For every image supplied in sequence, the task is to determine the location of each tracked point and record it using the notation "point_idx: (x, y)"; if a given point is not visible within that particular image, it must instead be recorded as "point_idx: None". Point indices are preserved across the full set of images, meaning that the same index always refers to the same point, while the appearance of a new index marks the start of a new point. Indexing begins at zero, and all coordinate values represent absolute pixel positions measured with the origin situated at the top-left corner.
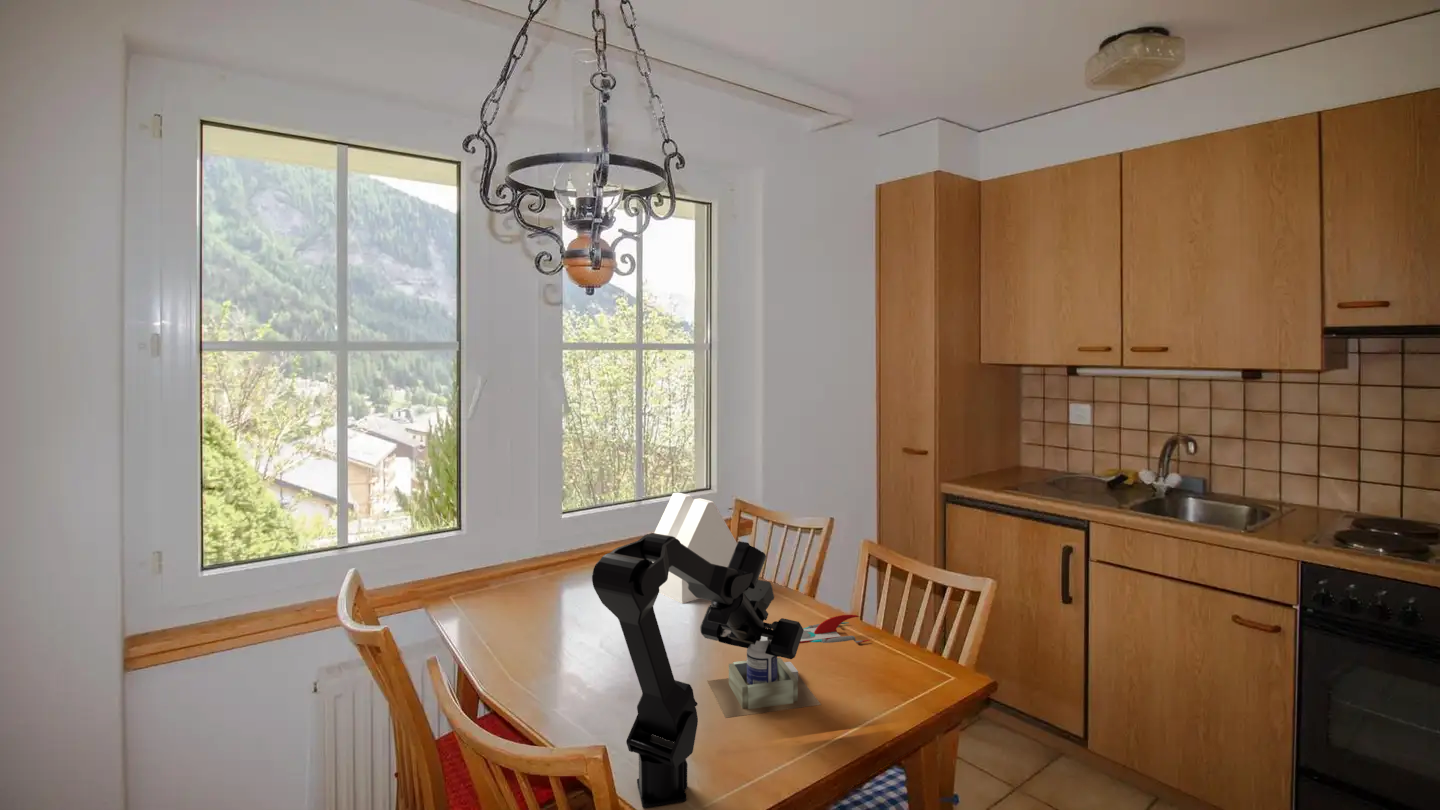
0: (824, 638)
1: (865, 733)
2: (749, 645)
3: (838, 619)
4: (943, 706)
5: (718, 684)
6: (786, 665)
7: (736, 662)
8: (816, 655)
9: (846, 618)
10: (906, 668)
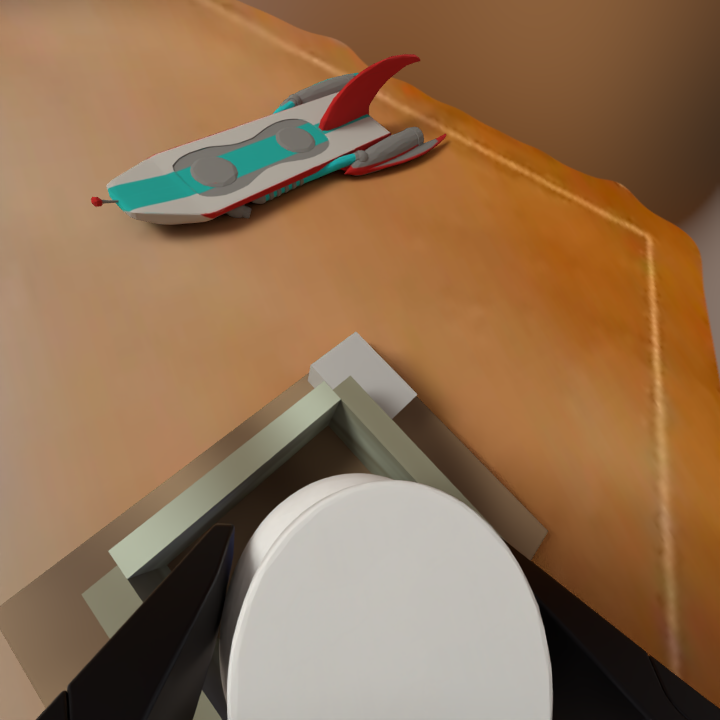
0: (357, 147)
1: (705, 603)
2: (230, 635)
3: (380, 74)
4: (714, 356)
5: (76, 615)
6: (356, 366)
7: (134, 543)
8: (361, 219)
9: (396, 68)
10: (565, 225)
